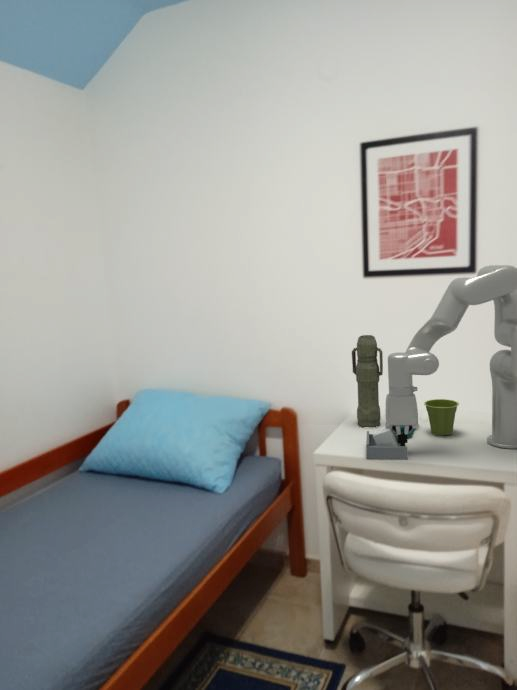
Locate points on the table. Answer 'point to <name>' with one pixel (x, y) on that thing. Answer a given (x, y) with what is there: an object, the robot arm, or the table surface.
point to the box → (384, 450)
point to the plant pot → (441, 415)
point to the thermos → (367, 380)
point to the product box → (386, 437)
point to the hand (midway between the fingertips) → (402, 444)
